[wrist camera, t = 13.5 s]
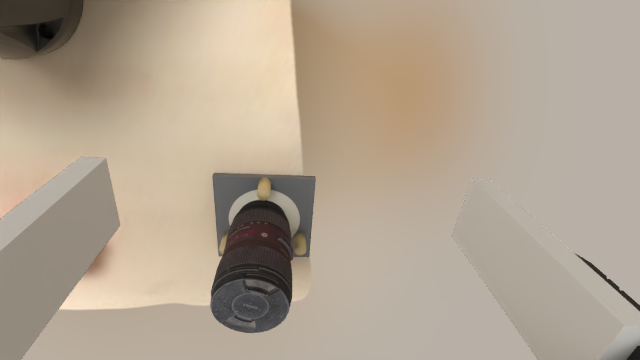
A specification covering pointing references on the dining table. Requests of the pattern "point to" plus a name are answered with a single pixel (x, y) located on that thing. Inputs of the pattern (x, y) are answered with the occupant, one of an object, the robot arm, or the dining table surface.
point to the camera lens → (254, 270)
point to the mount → (279, 189)
